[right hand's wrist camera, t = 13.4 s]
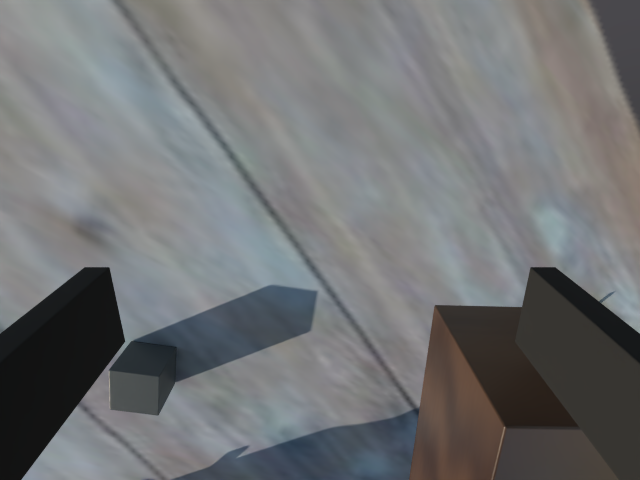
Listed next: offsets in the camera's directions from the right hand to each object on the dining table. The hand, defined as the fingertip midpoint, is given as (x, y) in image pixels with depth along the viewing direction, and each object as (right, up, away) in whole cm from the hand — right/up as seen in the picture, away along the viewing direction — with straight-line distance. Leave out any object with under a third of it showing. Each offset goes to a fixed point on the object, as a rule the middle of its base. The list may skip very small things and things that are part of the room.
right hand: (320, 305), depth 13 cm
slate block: (-19, -12, +33) cm, 39 cm away
